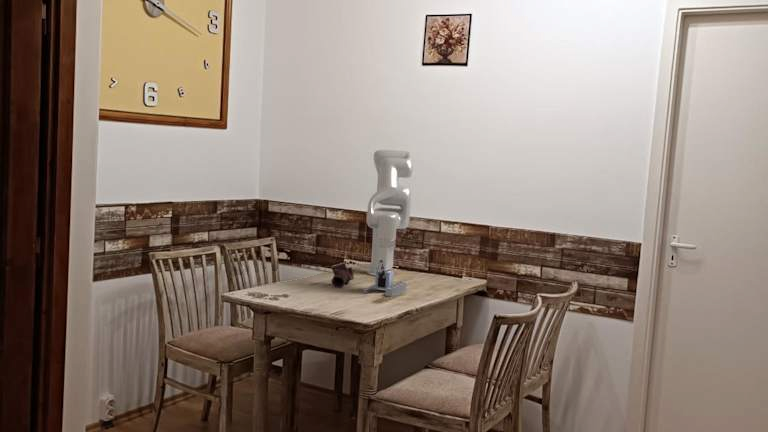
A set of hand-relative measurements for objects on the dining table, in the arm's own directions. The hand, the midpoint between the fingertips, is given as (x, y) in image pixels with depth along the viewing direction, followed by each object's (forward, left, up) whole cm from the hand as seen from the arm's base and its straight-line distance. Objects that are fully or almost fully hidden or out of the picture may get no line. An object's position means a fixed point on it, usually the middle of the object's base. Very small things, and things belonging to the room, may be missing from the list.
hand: (383, 285), depth 325 cm
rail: (0, 0, -2) cm, 2 cm away
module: (0, 0, -1) cm, 1 cm away
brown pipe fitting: (-20, +2, -3) cm, 21 cm away
